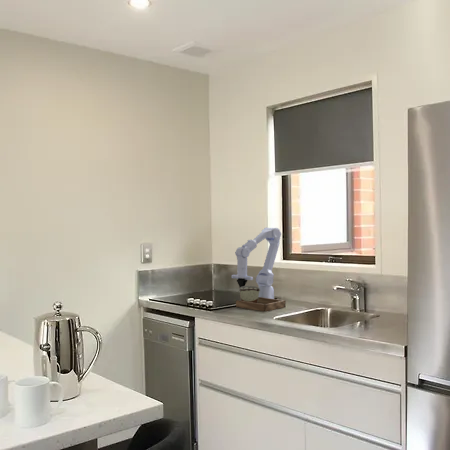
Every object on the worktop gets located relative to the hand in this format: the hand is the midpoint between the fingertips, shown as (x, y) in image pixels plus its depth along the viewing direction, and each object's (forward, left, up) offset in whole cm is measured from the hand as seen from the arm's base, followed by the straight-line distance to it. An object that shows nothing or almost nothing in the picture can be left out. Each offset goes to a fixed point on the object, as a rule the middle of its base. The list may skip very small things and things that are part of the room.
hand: (241, 291), depth 300 cm
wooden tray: (0, +13, -7) cm, 15 cm away
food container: (-1, +4, -7) cm, 8 cm away
